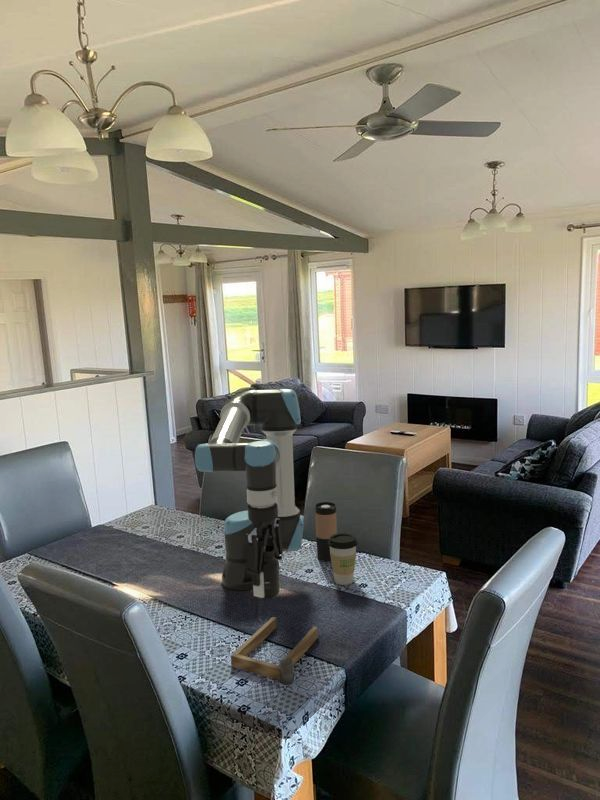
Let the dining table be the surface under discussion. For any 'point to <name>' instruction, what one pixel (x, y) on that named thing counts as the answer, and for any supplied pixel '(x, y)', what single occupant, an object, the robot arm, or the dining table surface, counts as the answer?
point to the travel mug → (325, 528)
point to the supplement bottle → (270, 573)
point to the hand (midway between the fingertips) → (266, 589)
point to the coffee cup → (343, 557)
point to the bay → (267, 669)
